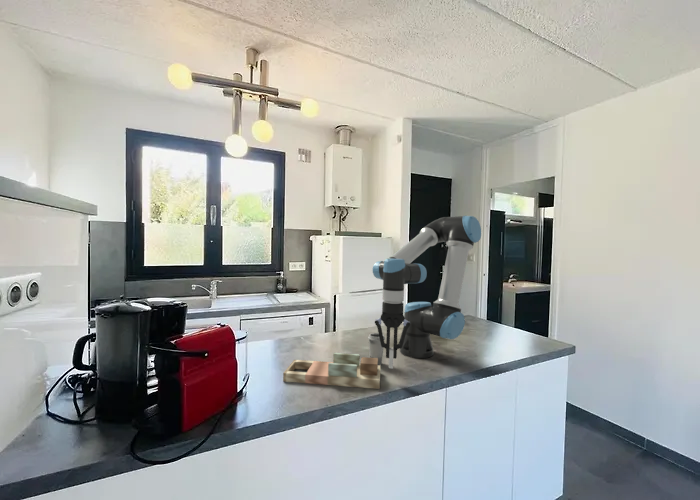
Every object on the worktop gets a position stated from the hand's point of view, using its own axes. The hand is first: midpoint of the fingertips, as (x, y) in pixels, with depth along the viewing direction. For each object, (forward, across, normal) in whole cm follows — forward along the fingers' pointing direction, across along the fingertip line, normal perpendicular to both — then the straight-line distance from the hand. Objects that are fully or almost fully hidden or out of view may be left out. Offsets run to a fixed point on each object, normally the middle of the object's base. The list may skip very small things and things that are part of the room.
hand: (390, 366), depth 112 cm
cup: (+6, +6, -16) cm, 18 cm away
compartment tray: (+6, +21, 0) cm, 22 cm away
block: (+2, +8, 0) cm, 8 cm away
